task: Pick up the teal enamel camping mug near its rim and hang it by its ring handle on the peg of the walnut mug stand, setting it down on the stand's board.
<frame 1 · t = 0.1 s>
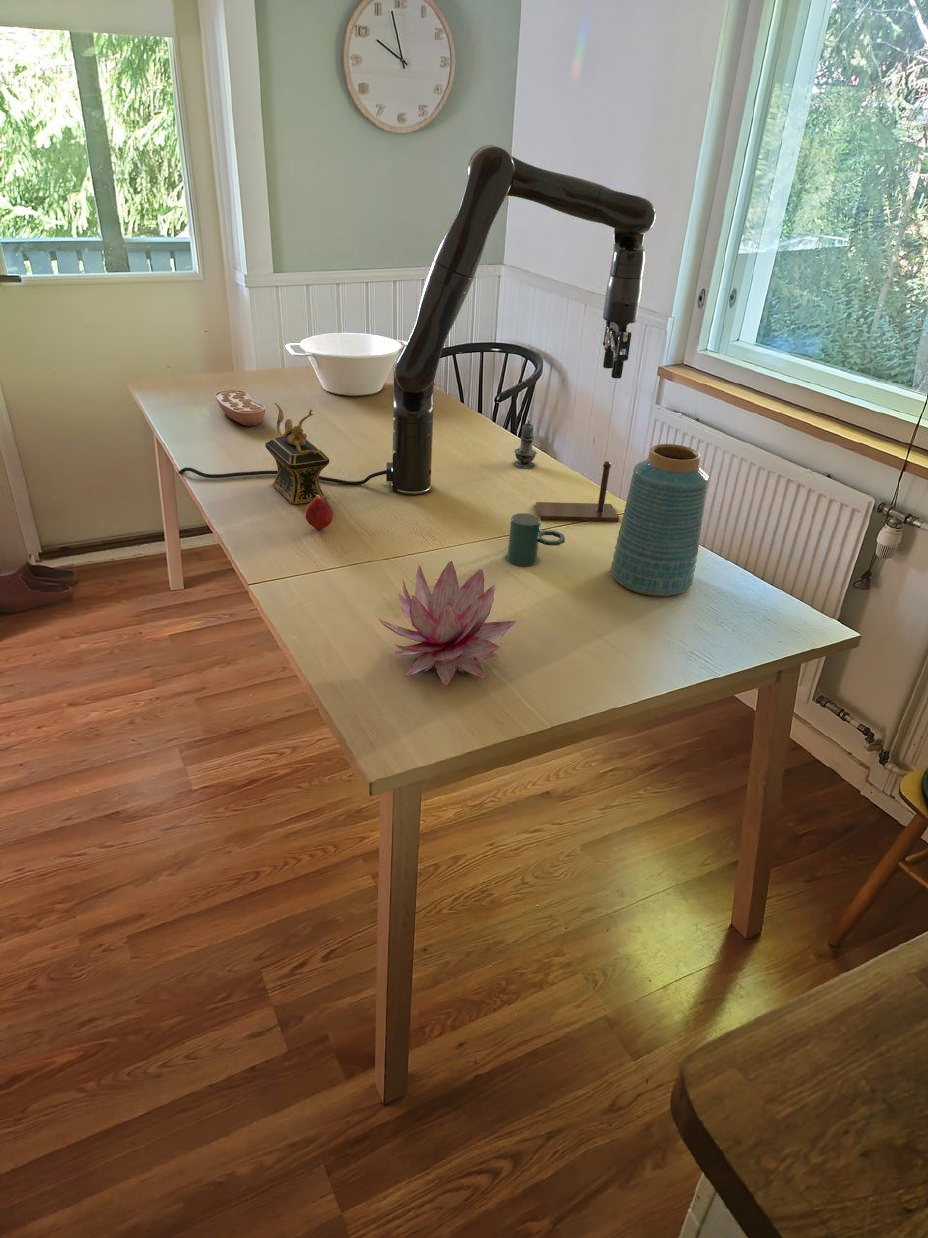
hand: (611, 372, 191), 29 cm above the table, tool pointing down, fingers open, 8 cm apart
vase: (650, 580, 168), on the table
onion: (319, 530, 179), on the table
mug stand: (576, 513, 194), on the table
mug: (521, 559, 172), on the table
decorative flower: (444, 662, 138), on the table
grey chess piece: (524, 465, 220), on the table
anatomical model: (239, 418, 239), on the table
decorative box: (296, 490, 197), on the table
pot: (352, 389, 271), on the table
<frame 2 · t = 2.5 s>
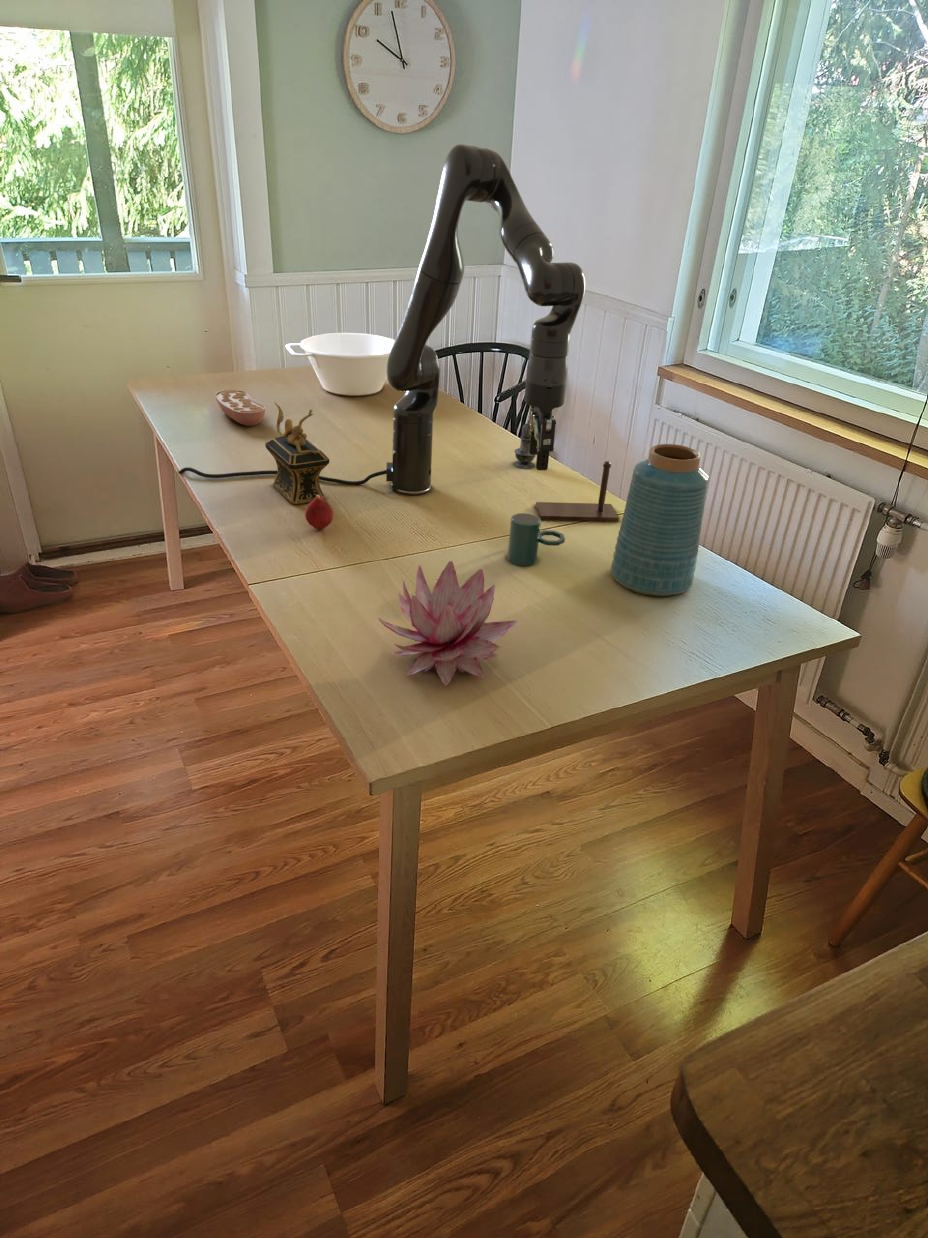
hand: (537, 461, 164), 20 cm above the table, tool pointing down, fingers open, 8 cm apart
nothing on the table moved.
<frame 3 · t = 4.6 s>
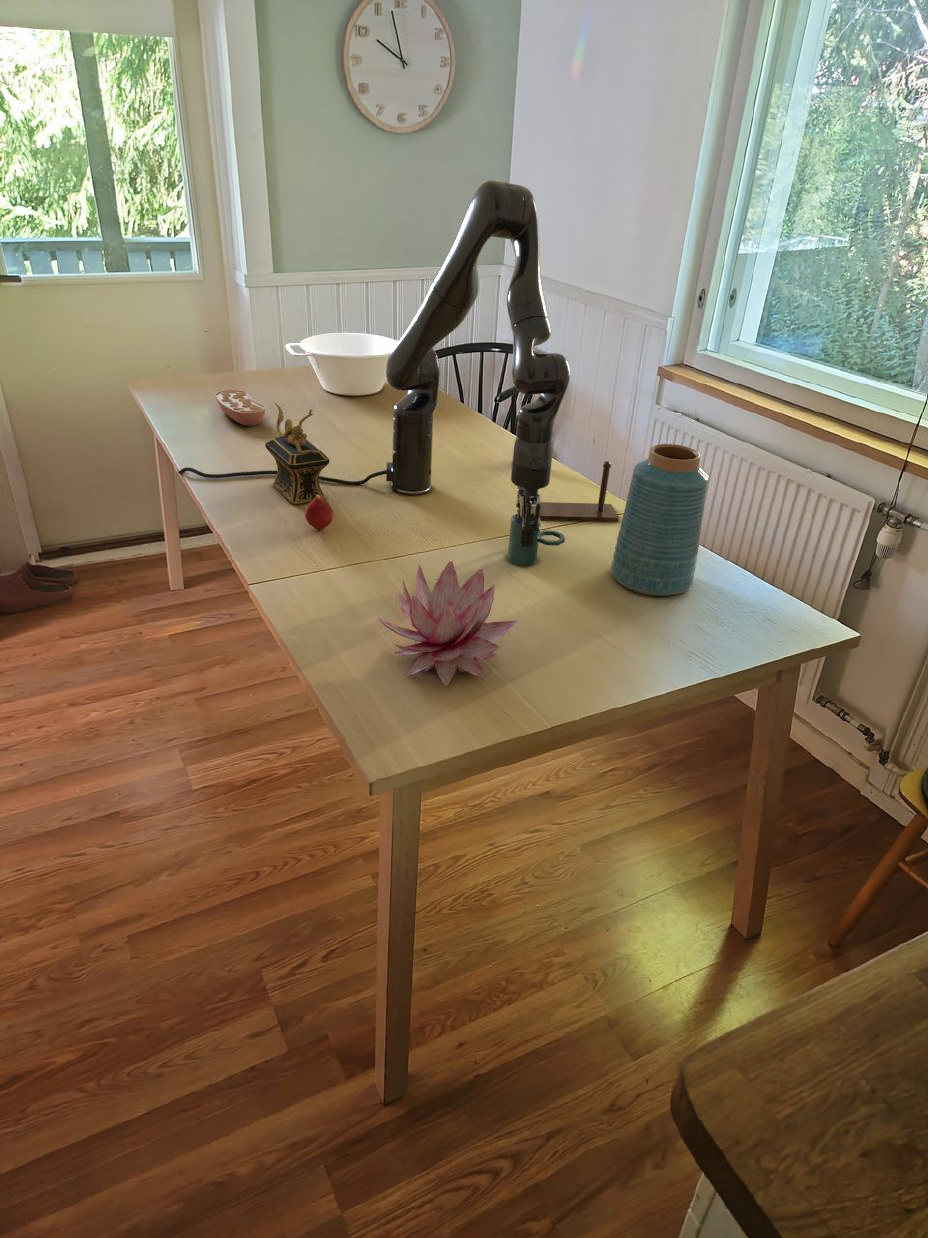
hand: (524, 538, 170), 5 cm above the table, tool pointing down, fingers closed on mug, 6 cm apart
mug: (521, 559, 172), on the table, touching gripper
everything else where it was.
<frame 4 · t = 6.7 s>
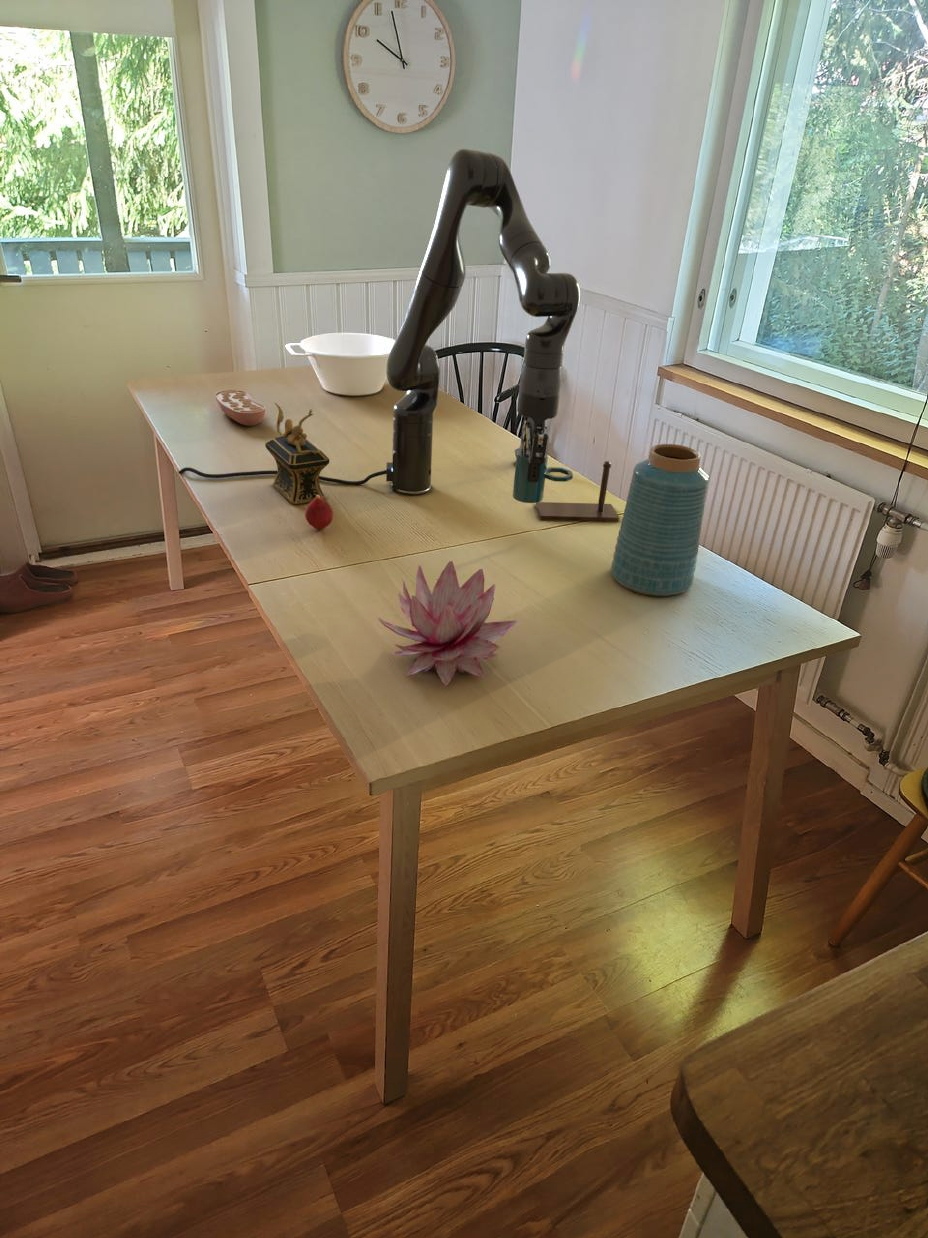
hand: (530, 474, 163), 18 cm above the table, tool pointing down, fingers closed on mug, 6 cm apart
mug: (527, 497, 165), point 14 cm above the table, touching gripper
everything else where it was.
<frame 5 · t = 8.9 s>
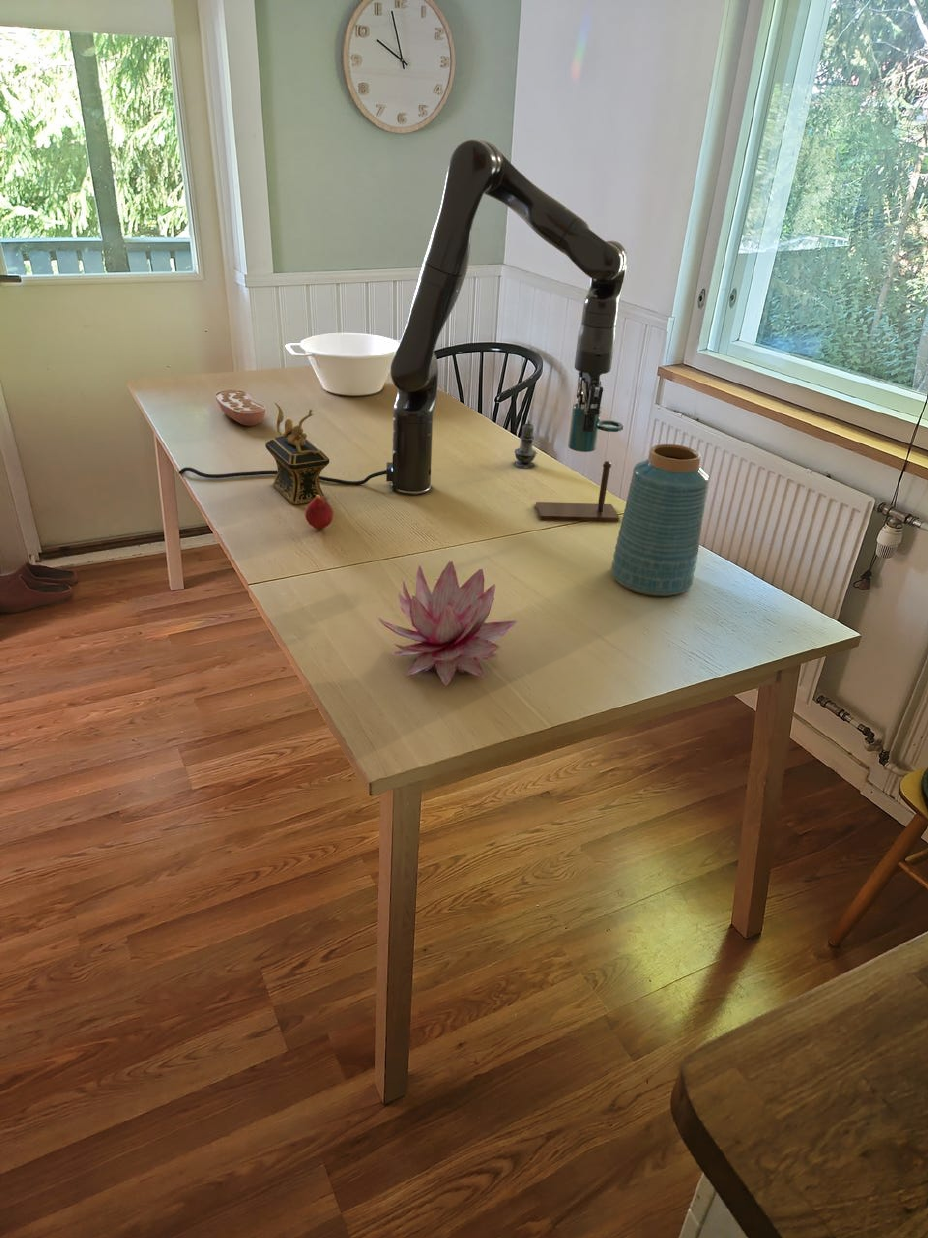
hand: (584, 426, 181), 22 cm above the table, tool pointing down, fingers closed on mug, 6 cm apart
mug: (581, 447, 184), point 17 cm above the table, touching gripper
everything else where it was.
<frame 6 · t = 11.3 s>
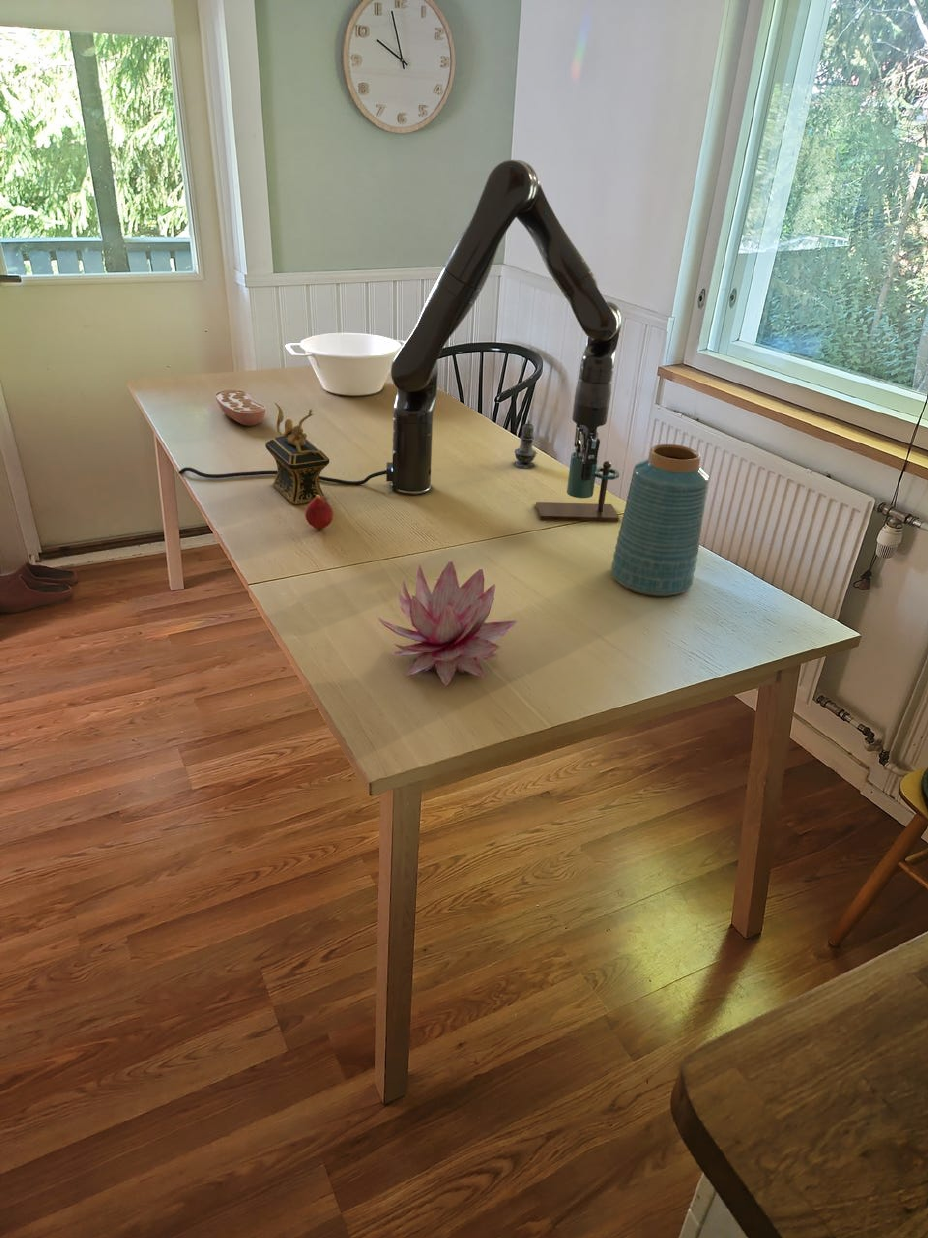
hand: (582, 473, 189), 10 cm above the table, tool pointing down, fingers closed on mug, 6 cm apart
mug: (579, 493, 192), point 5 cm above the table, touching gripper
everything else where it was.
when the fingers open (6 cm above the table, at t = 13.0 s): mug stays where it is, resting on mug stand.
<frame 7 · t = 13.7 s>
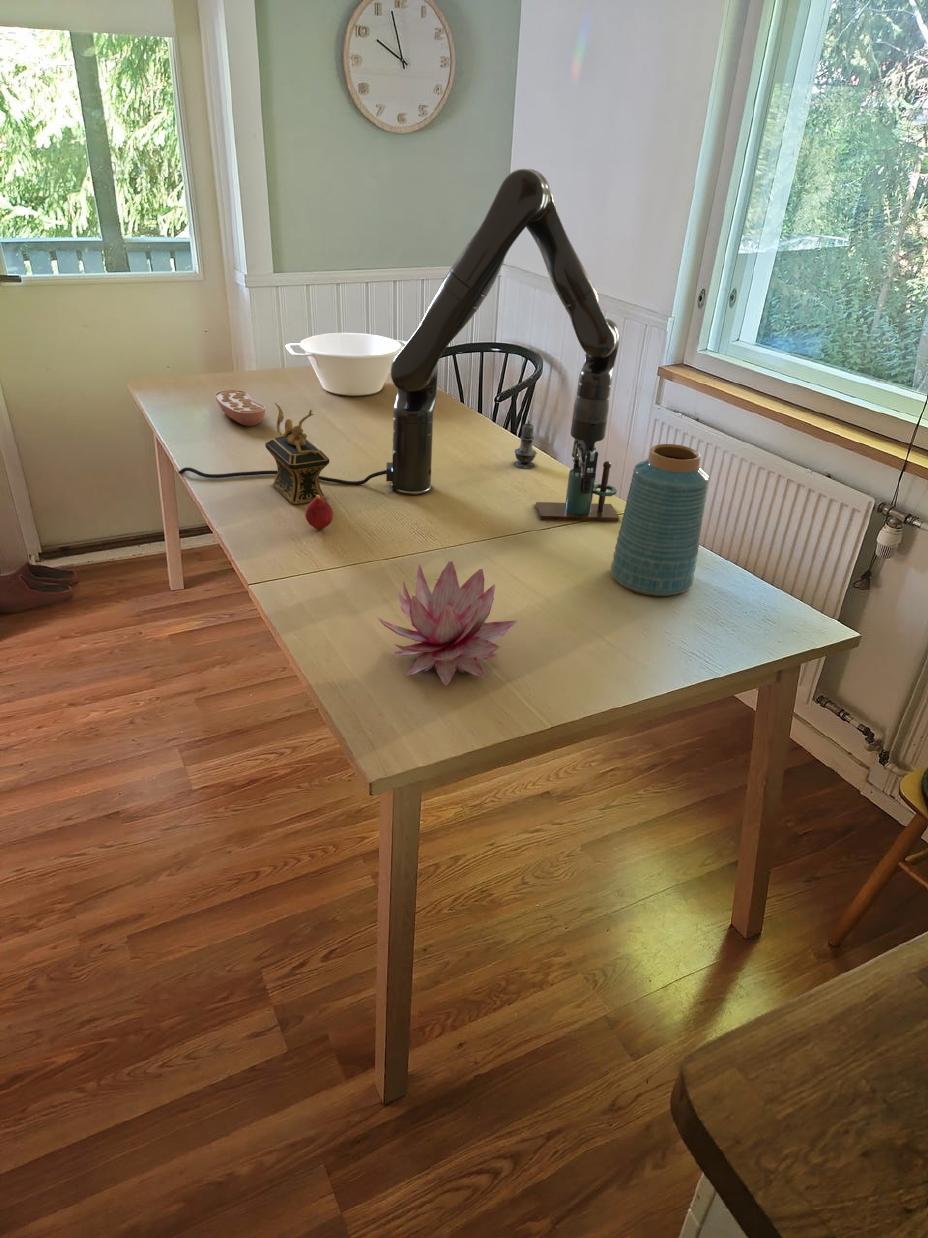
hand: (580, 485, 191), 7 cm above the table, tool pointing down, fingers open, 8 cm apart
mug: (577, 509, 194), point 1 cm above the table, touching mug stand
everything else where it was.
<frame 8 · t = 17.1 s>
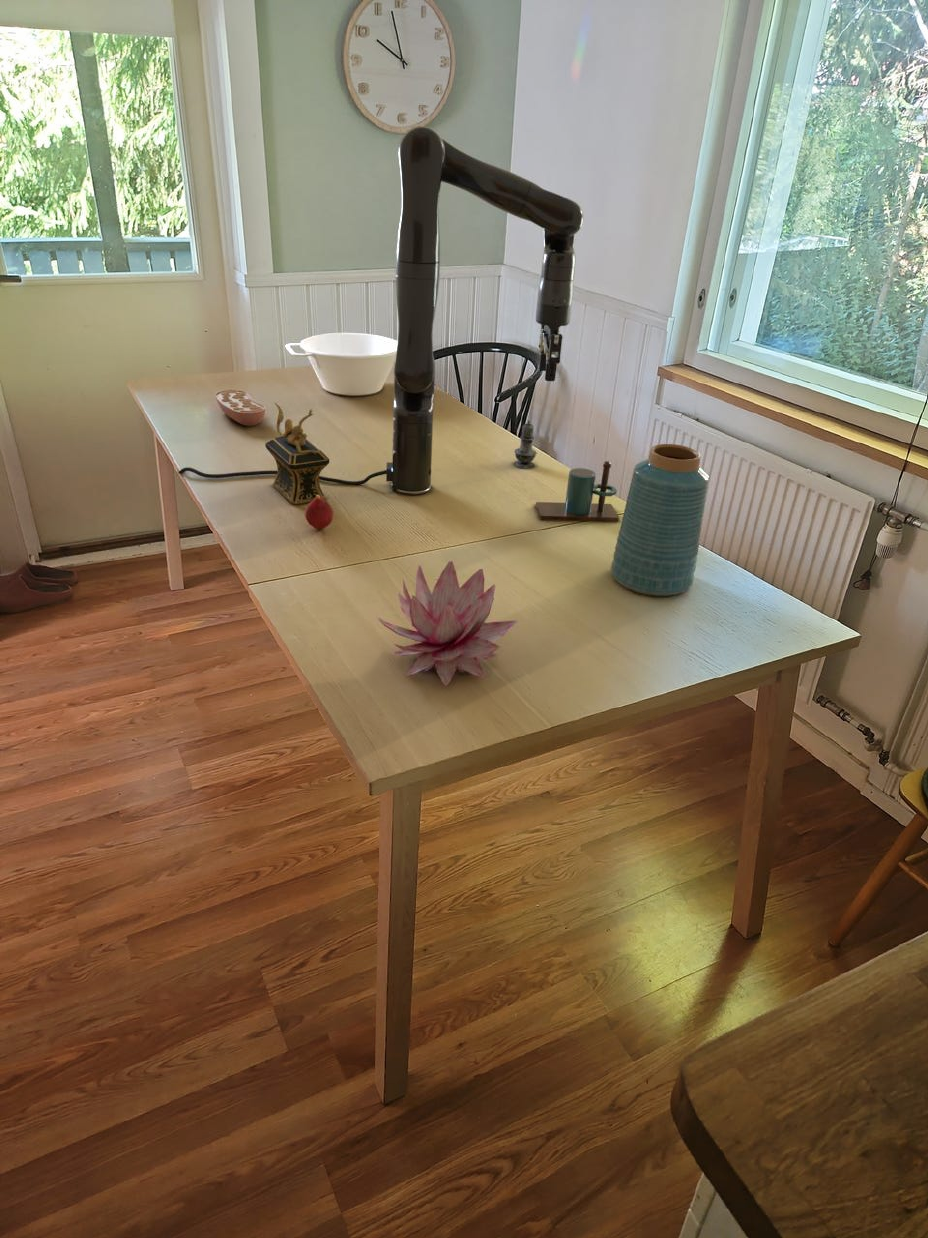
hand: (546, 375, 190), 28 cm above the table, tool pointing down, fingers open, 8 cm apart
nothing on the table moved.
at the end: mug 0.2 cm off-centre on the mug stand, point 1.0 cm above the mug stand's base; mug tilted 0°; the gripper is holding nothing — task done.
